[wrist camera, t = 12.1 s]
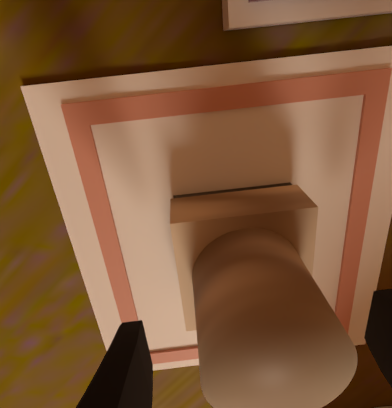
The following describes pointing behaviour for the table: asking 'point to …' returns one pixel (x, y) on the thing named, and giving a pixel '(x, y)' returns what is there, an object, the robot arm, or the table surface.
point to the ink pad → (295, 11)
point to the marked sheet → (218, 174)
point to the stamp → (258, 299)
